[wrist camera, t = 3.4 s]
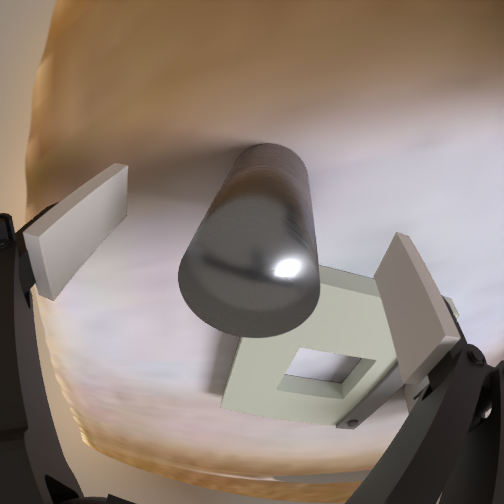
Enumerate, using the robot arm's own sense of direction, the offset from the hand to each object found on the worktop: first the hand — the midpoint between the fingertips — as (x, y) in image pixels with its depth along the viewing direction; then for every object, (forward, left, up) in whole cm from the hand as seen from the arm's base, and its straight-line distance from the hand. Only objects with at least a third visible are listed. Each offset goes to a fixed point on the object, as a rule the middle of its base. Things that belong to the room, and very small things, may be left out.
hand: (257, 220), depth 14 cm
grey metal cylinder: (0, 0, -5) cm, 5 cm away
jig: (+15, +9, -5) cm, 18 cm away
